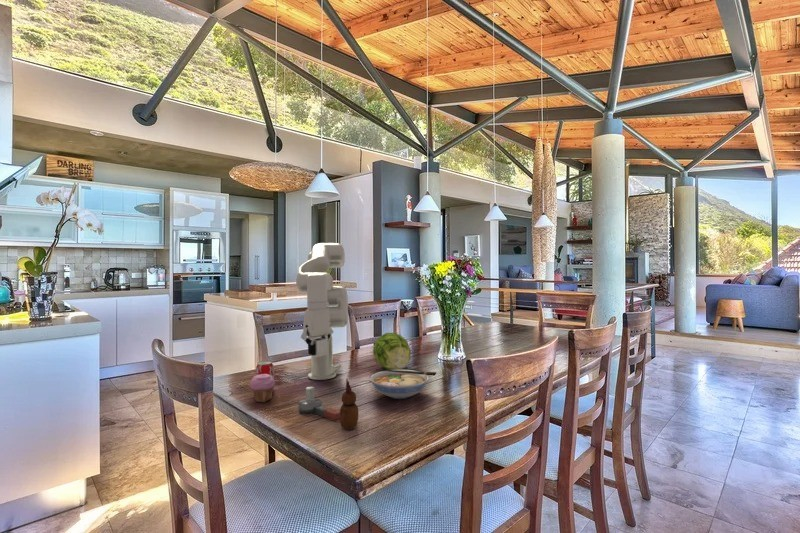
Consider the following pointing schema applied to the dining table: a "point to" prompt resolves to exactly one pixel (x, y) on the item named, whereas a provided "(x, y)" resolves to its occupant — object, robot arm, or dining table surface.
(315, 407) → the ratchet
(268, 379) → the cupcake
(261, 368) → the soda can
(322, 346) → the socket
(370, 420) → the dining table surface
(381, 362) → the lettuce
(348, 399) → the wooden figurine
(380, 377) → the ramen bowl
